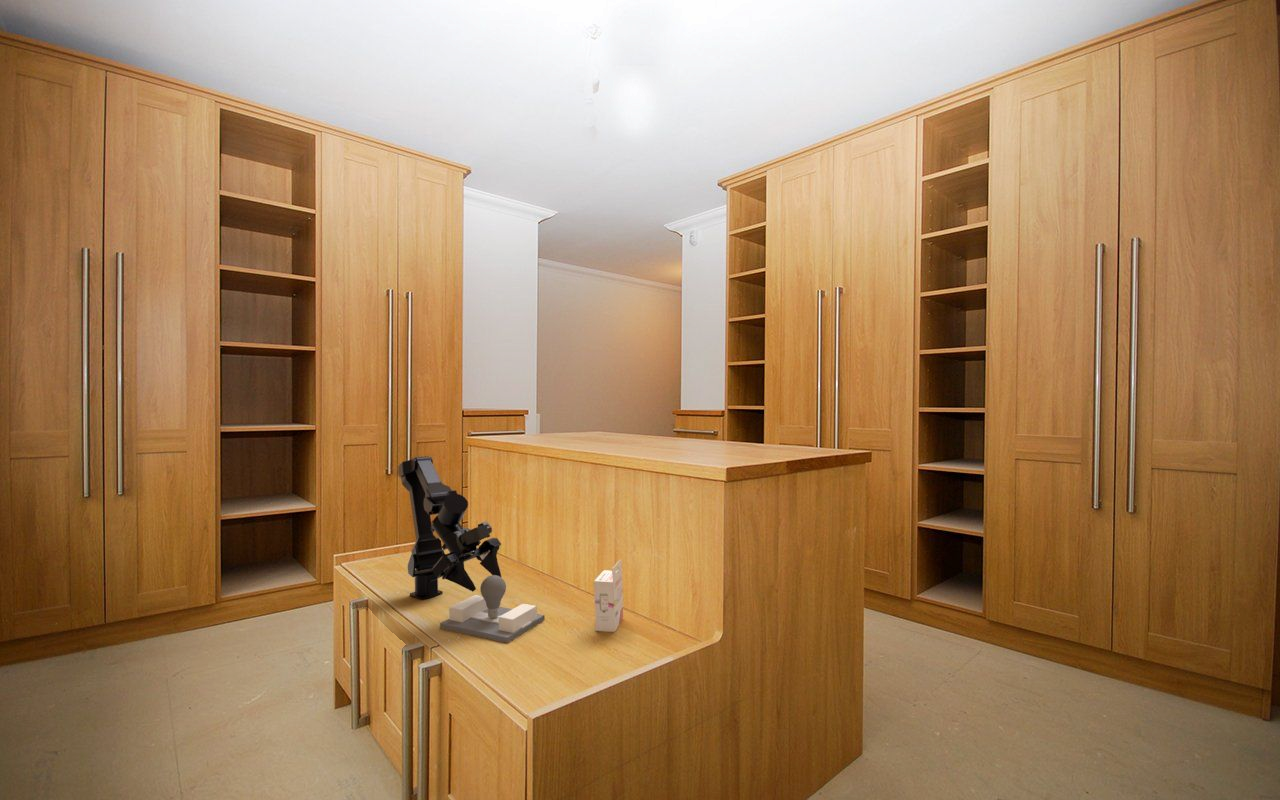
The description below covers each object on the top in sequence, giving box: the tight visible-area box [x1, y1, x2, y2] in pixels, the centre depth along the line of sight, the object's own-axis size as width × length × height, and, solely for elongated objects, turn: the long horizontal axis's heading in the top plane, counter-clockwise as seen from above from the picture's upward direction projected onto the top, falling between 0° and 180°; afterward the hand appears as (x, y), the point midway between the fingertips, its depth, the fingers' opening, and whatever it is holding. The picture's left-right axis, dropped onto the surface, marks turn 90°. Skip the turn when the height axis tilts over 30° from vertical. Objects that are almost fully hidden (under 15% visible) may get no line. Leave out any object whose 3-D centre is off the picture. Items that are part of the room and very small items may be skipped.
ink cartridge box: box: [593, 558, 624, 633], centre depth 131 cm, size 9×5×15 cm, turn 168°
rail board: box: [439, 594, 546, 644], centre depth 133 cm, size 20×14×4 cm
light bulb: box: [479, 574, 507, 618], centre depth 133 cm, size 6×6×10 cm
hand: (487, 584), depth 133 cm, fingers open, 9 cm apart
